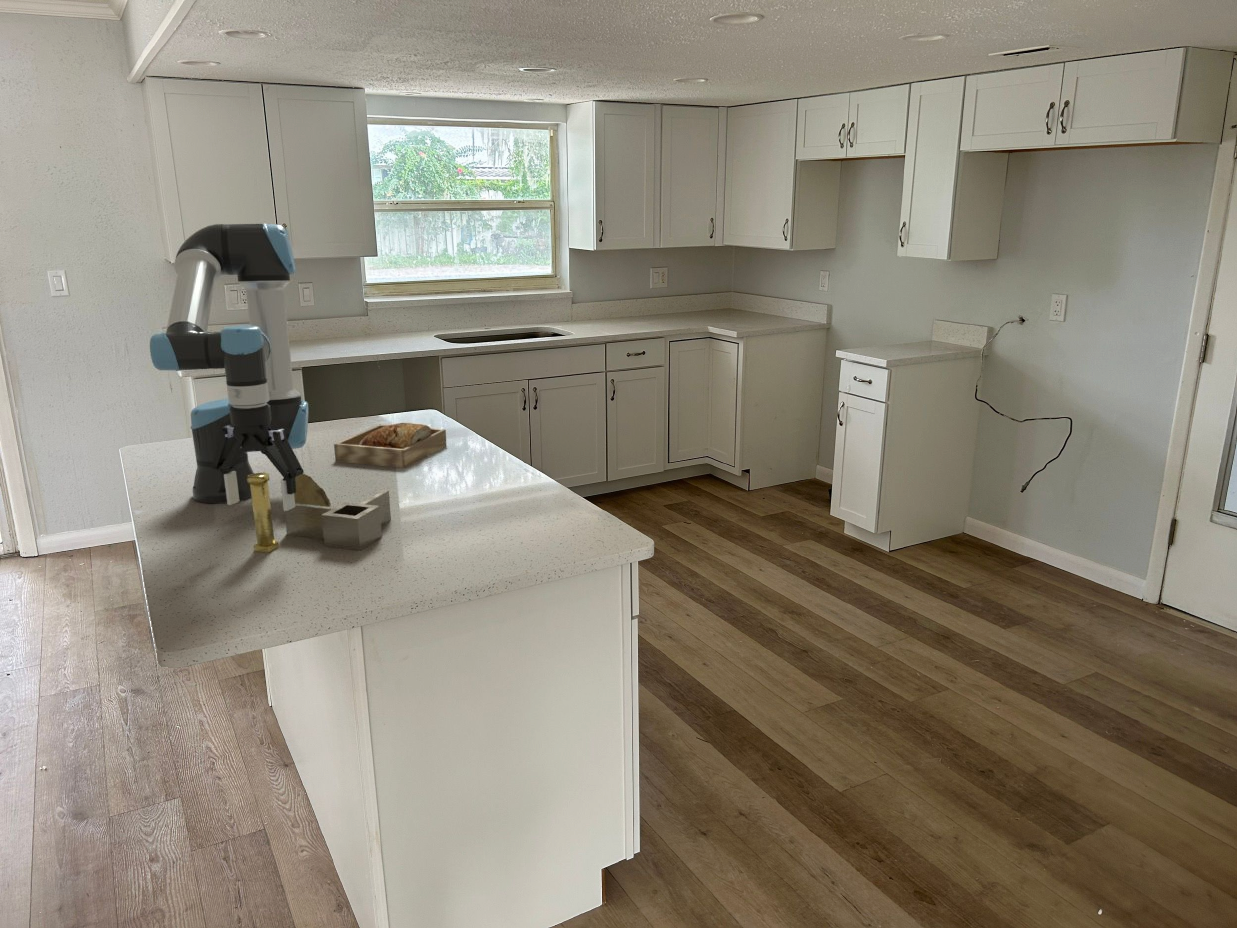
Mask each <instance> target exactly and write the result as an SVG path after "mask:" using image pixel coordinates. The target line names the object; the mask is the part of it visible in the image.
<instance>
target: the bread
mask: <svg viewBox="0 0 1237 928" xmlns="http://www.w3.org/2000/svg"><path fill="white" fill-rule="evenodd" d="M387 425H388V426H385V427H382V428H380V429H378V430H376V431H373V432H372V433H370V434H368V435H367V436H366V437H364V439H363V440H361V441H360V443H359V445H362V446H373V447H385V448H397V449H404V448H406V447H408V446H410V445H412V444H414V443H416V442H418V441H420V440H422V439H424V438H426V437H428V436H430V435H431V434H432V431H431V428H432V427H430V426H429V425H427V424H420V423H412V422H411V423H410V422H399V423H395V424H393V423H392V424H387Z"/></svg>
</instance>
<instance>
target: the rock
mask: <svg viewBox="0 0 1237 928" xmlns="http://www.w3.org/2000/svg"><path fill="white" fill-rule="evenodd" d="M295 481H296V493H294V498H295V503H298V504H307V505H316V506H326V507H332V505H331V501H330V499H329V497H328V495H327V493H326V491H325V490H324V489H323V487H320V486H319V484H318V483H317V482H316V481H315V480H314V479H313V478H312V476H309V475H308V474H305V473H303V474H301V475H299V476H296V477H295Z"/></svg>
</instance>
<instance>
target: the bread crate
mask: <svg viewBox="0 0 1237 928" xmlns="http://www.w3.org/2000/svg"><path fill="white" fill-rule="evenodd" d="M388 425H389V424H377V425H375V426H373V427H371V428H368V429H366V430H363V431H361V432H359V433H357V434H354V435H352V436H349V437H348V438H347V437H346V438H345V439H343V440H340V441H337V442H336V443H334V444H333V448H334V458H335V459H334V461H335V462H338V463H347V464H348V463H350V464H359V465H372V466H378V467H379V466H381V467H393V468H401V469H407V468H409V467H411V466H412V465H414V464H416V463H418V462H419V461H421V460H423V459H425V458H427V457H429V456H431V455H433V454H434V453H436V452H438V451H440V450H442V449H443V448H445V447H447V445H448V444H447V432H446V431H447V430H446V429H442V428H434V427H433V428H432V427H430V428H431V431H432V434H431V435H430V436H428V437H426V438H424V439H422V440H420V441H418V442H416V443H414V444H412V445H410V446H408V447H406V448H404V449H397V448H385V447H373V446H362V445H359V443H360V441H361V440H363V439H364V437H366V436H367V435H368V434H370V433H372V432H373V431H376V430H378V429H380V428H382V427H385V426H388Z"/></svg>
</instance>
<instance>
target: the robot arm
mask: <svg viewBox="0 0 1237 928" xmlns="http://www.w3.org/2000/svg"><path fill="white" fill-rule="evenodd" d="M174 270H175V272H176V274H177V275H176V280H175V281H176V282H175V286H174V291H173V297H172V302H171V306H170V311H169V316H168V320H167V326H166V331H165V332H161V333H155V334H153V335H152V336H151V337H150V339H149V353H150V359H151V362H152V364H153V366H154V368H155V369H157V370H159V371H175V372H181V371H196V370H210V369H211V370H215V369H217V370H219V369H221V370H222V369H224V373H225V379H226V380H225V382H226V383H225V384H226V389H227V398H222V399H221V398H220V399H215V400H211V401H208V402H204V403H202V404H199V405H197V406H195V407H194V408H192V410H191V411H190V429H191V432H192V439H193V441H192V442H193V447H194V453H195V460H196V470H195V471H196V472H195V475H194V481H193V486H192V497H193V500H195V501H196V502H200V503H202V504H204V503H205V504H223V503H224V504H225V503H226V504H227V505H228V506H232V505H234V504H236V503H239V502H240V501H242V500H246V499H248V498H252V497H251V489H250V483H248V482H247V476H248V475H250V474H254V471H253V468H252V465H251V463H250V462H249V461H250V460H249V456H248V454H249V453H255V452H260V453H261V454H262V455H264V456H266V458H267V459H268V460H269V461H270V462H271V464H272V465H273V467H275V469H276V470H277V471H278V473H279V474H280V475H281V476H282V478H281V479H280V486H281V487H280V489H281V496H282V498H281V499H282V505H283V512H284V511H288V510H290V509H292V508H294V507H295V498H294V493H296V481H295V477H296V476H299V475H301V474H305V473H304V469H303V467H302V465H301V464H300V462H299V460H298V458H297V455H296V454H295V452H294V450H296V449H300V448H303V447H304V446H305V445H306V442H307V437H308V426H309V425H308V424H309V402H308V401H305V400H302V394H301V393H300V392H299V391H298V390H297V389H296V388H295V387H294V378H293V368H292V358H291V347H290V336H289V328H288V327H289V326H288V315H287V307H286V306H287V305H286V296H285V294H286V293H285V288H286V287H287V286H288V285H289V284H290V283H291V277H290V275H291V276H292V275H295V274H296V265H295V258H294V253H293V250H292V245H291V241H290V238H289V235H288V232H287V230H286V228H285V227H284V226H282V225H280V224H274V223H263V222H262V223H236V224H234V223H231V224H229V223H228V224H226V223H224V224H223V223H215V224H211V225H207V226H205V227H203V228H200V229H199V230H196V231H195V232H194V233H192V234H190V236H188V238H186V239H185V240H184V242H183V243H182V244H181V246H180V247H179V248H178V251H177V253H176V255H175V260H174ZM221 276H237V283H238V284H239V285H240V286H241V287H242V288H243V289H244V290H245V295H246V302H247V303H246V305H247V313H248V323H249V324H245V325H244V324H243V325H242V324H239V325H231V326H226V327H223V328H222V329H221V330H220V331H208V329H209V327H208V326H209V320H210V313H211V307H212V300H213V293H214V287H215V286H214V285H215V283H216V282H217V281H218V280H219V278H220V277H221Z"/></svg>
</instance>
